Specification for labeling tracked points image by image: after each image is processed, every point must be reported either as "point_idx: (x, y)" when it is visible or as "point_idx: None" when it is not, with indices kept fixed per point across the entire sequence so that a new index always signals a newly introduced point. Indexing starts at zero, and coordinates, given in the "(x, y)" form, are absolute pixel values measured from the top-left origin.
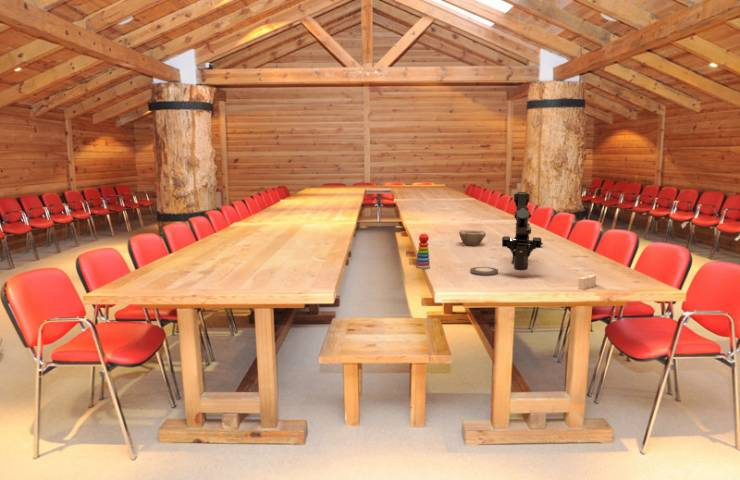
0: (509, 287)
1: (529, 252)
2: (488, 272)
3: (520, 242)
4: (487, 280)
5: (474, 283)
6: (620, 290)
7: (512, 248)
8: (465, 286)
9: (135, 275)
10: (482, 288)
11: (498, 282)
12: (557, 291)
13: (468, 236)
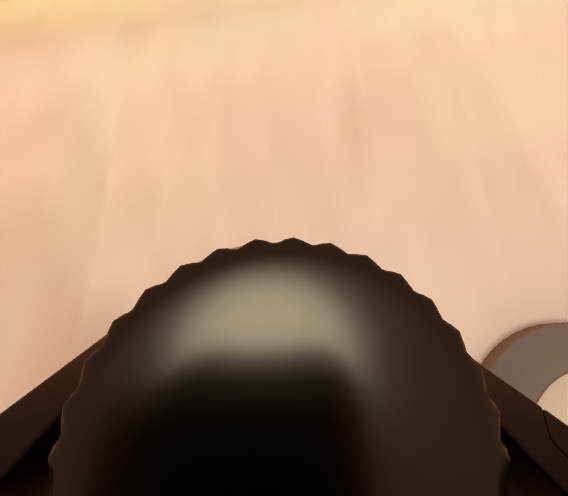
0: (328, 51)
1: (80, 364)
2: (541, 346)
3: None
4: (485, 185)
5: (537, 98)
6: None
7: (536, 424)
8: (559, 31)
9: None
10: (465, 10)
11: (407, 148)
12: (58, 17)
13: None
